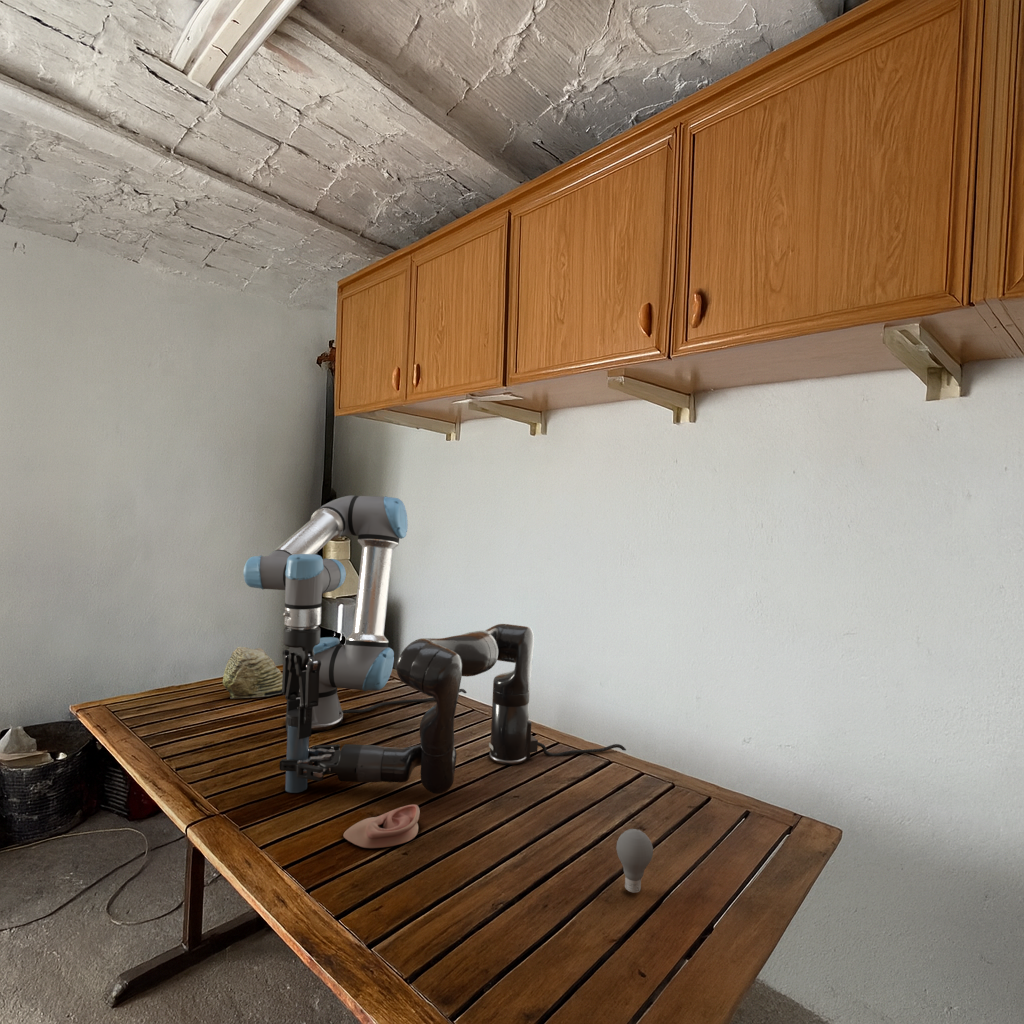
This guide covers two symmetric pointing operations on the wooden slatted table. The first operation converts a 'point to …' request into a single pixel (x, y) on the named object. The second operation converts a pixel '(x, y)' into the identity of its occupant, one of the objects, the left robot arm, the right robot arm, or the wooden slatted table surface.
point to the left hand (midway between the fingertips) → (298, 733)
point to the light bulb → (634, 857)
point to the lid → (292, 717)
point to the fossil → (251, 674)
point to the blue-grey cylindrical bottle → (296, 751)
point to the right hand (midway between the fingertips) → (285, 759)
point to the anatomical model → (385, 828)
